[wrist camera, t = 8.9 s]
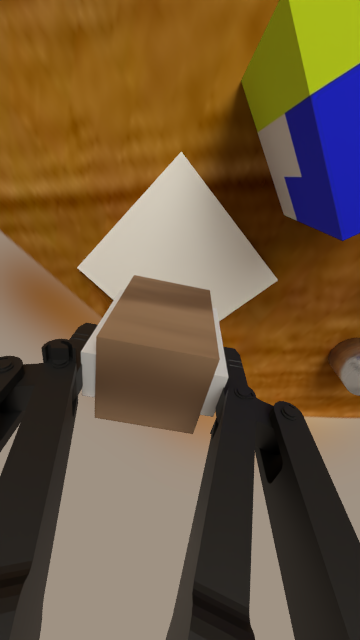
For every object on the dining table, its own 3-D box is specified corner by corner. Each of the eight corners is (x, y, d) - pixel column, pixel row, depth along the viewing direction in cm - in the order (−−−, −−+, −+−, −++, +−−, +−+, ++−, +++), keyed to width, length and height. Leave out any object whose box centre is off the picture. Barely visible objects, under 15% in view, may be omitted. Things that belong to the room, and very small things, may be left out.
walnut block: (134, 275, 16) (96, 336, 10) (209, 290, 16) (219, 359, 10) (127, 337, 18) (94, 417, 12) (193, 349, 18) (192, 433, 12)
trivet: (80, 265, 25) (77, 267, 24) (181, 152, 19) (181, 151, 19) (174, 349, 30) (173, 353, 29) (275, 277, 24) (278, 280, 24)
